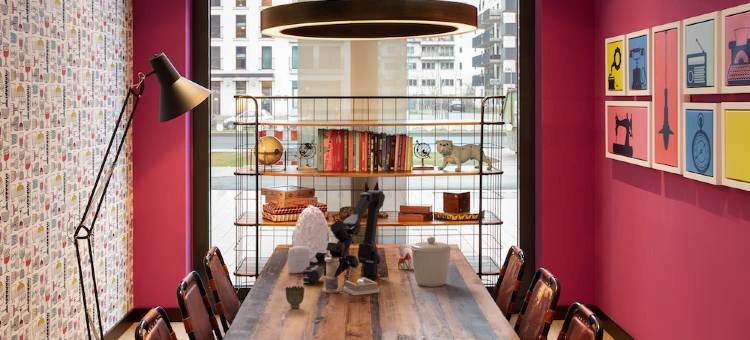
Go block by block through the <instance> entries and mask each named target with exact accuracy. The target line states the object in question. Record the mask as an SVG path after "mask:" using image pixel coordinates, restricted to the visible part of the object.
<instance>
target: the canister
mask: <svg viewBox="0 0 750 340" xmlns="http://www.w3.org/2000/svg"><path fill="white" fill-rule="evenodd" d="M410 249H411V256H412V257H411V258H412V267H413V274H414V280H415V282H416V284H417V285H419V286H421V287H427V288H434V287H435V288H437V287H441V286H444V285H445V283H447V278H448V274H449V266H450V258H451V251H452V249H453V247H452V246H450V245H449V244H447V243H445V242H439V241H436V238H435V237H434V236H429V237H427V239H426V241H421V242H416V243H414V244H413V245H411V246H410Z"/></svg>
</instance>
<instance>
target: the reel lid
mask: <svg viewBox="0 0 750 340" xmlns="http://www.w3.org/2000/svg"><path fill="white" fill-rule="evenodd" d="M364 279H368V278H365V277H362V278H360V279H359V278H358V279H357V281H356V284H357V285H359V284H364Z"/></svg>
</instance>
